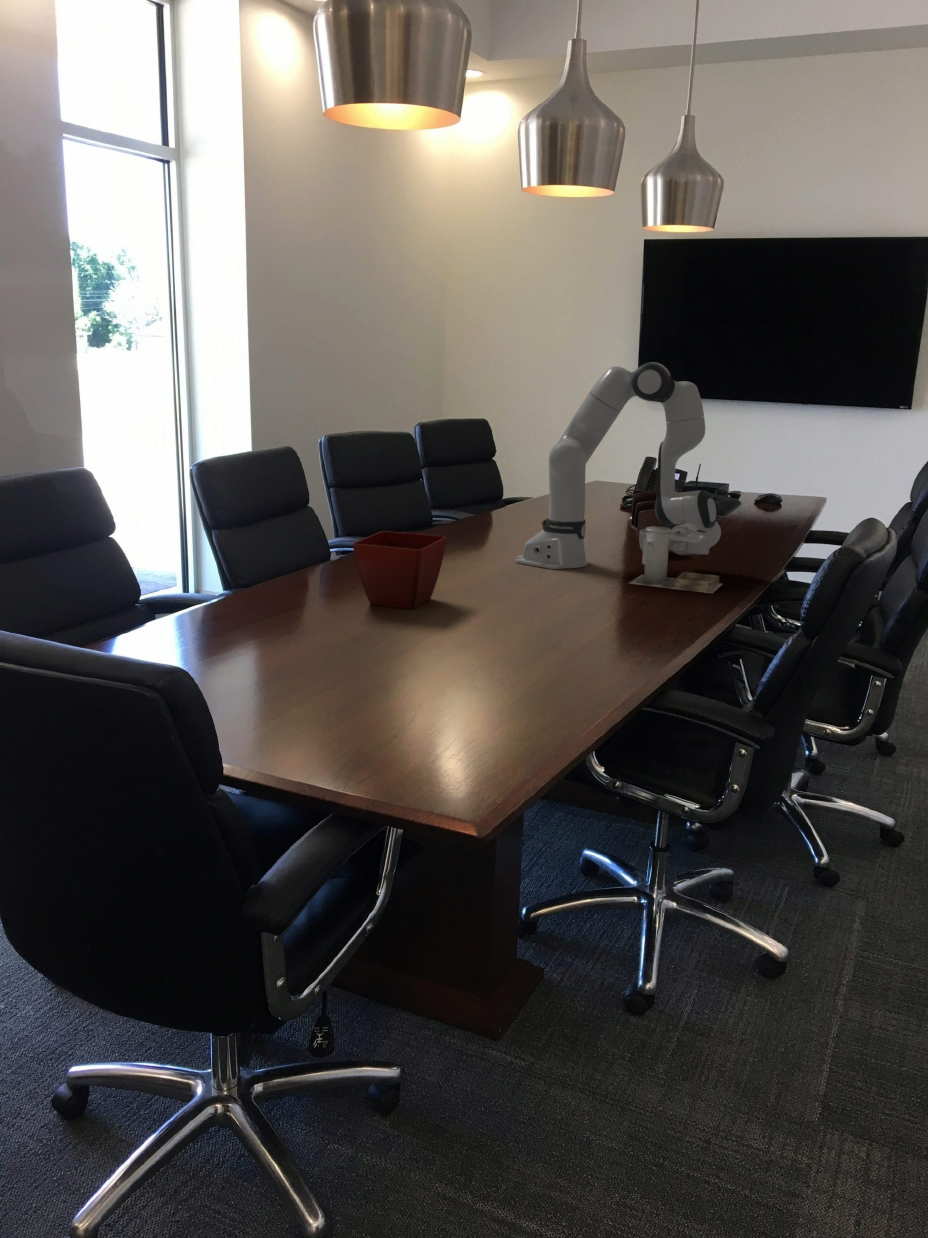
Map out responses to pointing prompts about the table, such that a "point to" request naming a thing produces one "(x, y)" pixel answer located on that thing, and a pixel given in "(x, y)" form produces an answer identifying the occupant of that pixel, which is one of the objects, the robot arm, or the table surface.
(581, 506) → the robot arm
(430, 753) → the table surface
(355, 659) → the table surface
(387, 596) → the plant pot
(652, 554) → the tall white canister
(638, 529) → the letter holder
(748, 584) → the table surface
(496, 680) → the table surface
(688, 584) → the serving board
